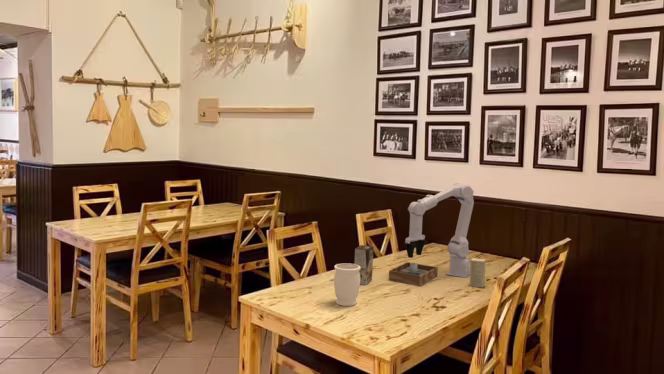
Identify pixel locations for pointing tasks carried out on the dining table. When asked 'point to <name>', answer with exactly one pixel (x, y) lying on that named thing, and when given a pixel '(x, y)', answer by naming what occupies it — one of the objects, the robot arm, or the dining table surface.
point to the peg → (413, 268)
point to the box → (403, 275)
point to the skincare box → (477, 272)
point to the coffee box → (364, 263)
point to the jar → (346, 283)
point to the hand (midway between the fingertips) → (414, 256)
